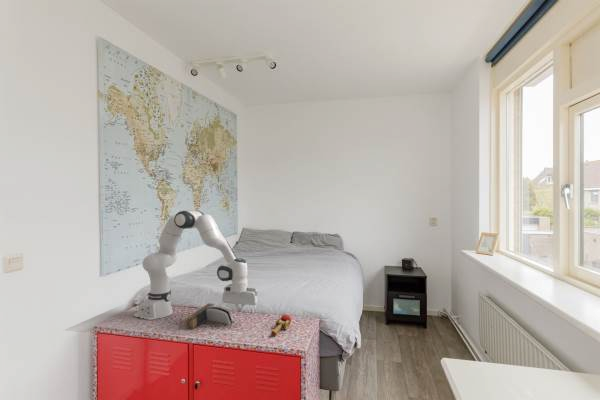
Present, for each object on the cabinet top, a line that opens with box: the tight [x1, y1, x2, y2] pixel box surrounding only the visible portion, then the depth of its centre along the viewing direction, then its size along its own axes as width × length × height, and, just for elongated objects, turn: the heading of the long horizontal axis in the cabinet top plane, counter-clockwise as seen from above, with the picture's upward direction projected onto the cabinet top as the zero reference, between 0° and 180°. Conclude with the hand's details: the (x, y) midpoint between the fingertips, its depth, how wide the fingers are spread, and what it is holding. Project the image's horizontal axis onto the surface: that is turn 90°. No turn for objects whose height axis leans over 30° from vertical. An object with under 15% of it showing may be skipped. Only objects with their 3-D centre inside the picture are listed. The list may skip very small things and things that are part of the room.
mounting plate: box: [196, 303, 213, 328], centre depth 176 cm, size 1×16×7 cm, turn 169°
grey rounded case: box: [206, 305, 235, 325], centre depth 175 cm, size 17×5×10 cm, turn 66°
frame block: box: [185, 303, 215, 330], centre depth 176 cm, size 4×24×6 cm, turn 168°
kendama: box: [270, 314, 292, 337], centre depth 164 cm, size 8×6×18 cm
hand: (239, 311), depth 172 cm, fingers closed
